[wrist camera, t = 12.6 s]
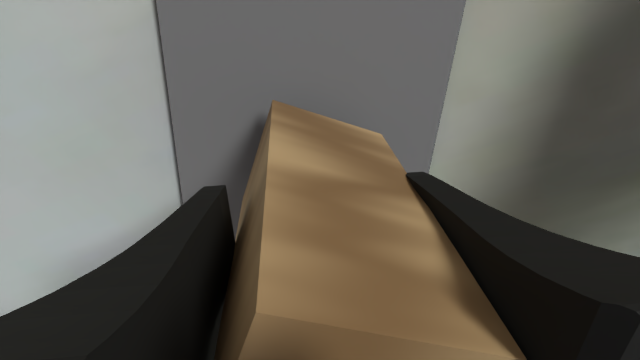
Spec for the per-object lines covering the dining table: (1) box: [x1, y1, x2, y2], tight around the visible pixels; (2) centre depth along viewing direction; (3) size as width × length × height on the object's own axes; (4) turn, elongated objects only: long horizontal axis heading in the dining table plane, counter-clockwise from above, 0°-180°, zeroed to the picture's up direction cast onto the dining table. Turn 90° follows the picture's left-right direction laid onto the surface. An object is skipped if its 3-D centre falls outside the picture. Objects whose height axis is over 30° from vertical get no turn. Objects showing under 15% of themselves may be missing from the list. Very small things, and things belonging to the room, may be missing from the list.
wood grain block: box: [214, 100, 527, 360], centre depth 9 cm, size 4×4×10 cm
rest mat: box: [156, 0, 466, 239], centre depth 15 cm, size 10×12×1 cm
